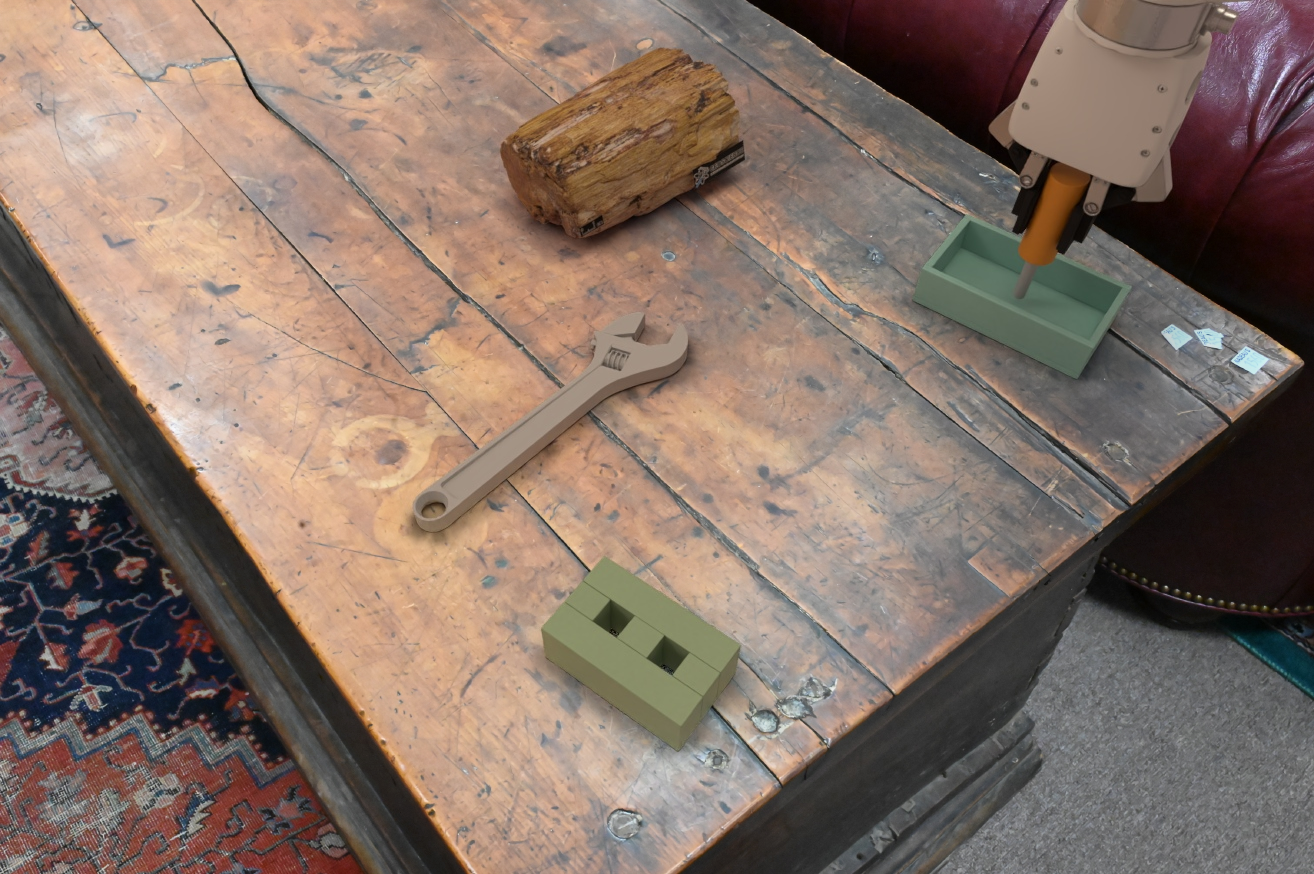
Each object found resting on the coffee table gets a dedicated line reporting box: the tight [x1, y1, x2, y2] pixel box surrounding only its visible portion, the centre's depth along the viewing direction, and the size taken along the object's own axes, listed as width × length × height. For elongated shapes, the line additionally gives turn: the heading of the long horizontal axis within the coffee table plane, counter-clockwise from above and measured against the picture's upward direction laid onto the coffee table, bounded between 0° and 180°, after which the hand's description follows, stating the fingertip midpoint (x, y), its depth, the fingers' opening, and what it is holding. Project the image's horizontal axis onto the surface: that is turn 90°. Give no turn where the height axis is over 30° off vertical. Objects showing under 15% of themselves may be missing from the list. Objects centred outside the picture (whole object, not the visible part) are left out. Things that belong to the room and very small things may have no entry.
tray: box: [912, 213, 1133, 380], centre depth 81 cm, size 8×14×4 cm, turn 54°
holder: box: [540, 555, 742, 752], centre depth 61 cm, size 6×10×4 cm, turn 54°
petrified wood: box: [499, 46, 746, 240], centre depth 87 cm, size 19×13×10 cm
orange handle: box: [1013, 162, 1091, 299], centre depth 76 cm, size 3×3×12 cm
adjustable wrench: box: [411, 311, 689, 533], centre depth 74 cm, size 25×6×2 cm, turn 132°
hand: (1045, 232), depth 76 cm, fingers closed on orange handle, 2 cm apart
